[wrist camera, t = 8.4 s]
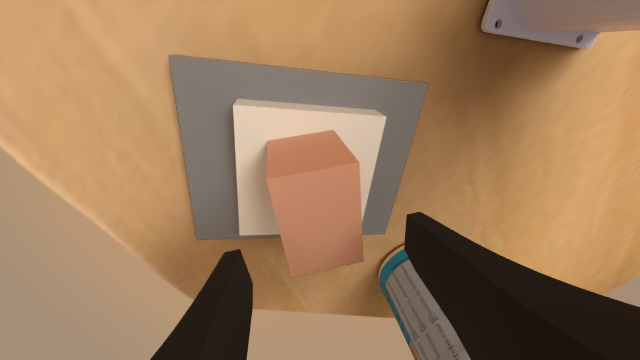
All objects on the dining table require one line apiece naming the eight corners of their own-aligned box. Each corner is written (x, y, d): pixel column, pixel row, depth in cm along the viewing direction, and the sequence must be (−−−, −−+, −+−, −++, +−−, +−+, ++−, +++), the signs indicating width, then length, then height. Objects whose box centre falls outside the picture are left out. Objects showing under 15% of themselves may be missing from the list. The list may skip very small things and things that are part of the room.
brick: (333, 129, 15) (359, 162, 10) (340, 209, 18) (363, 261, 13) (267, 140, 14) (266, 179, 10) (286, 220, 17) (291, 277, 13)
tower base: (420, 82, 17) (447, 87, 15) (380, 227, 23) (394, 249, 21) (174, 54, 14) (152, 55, 11) (200, 231, 20) (189, 258, 17)
